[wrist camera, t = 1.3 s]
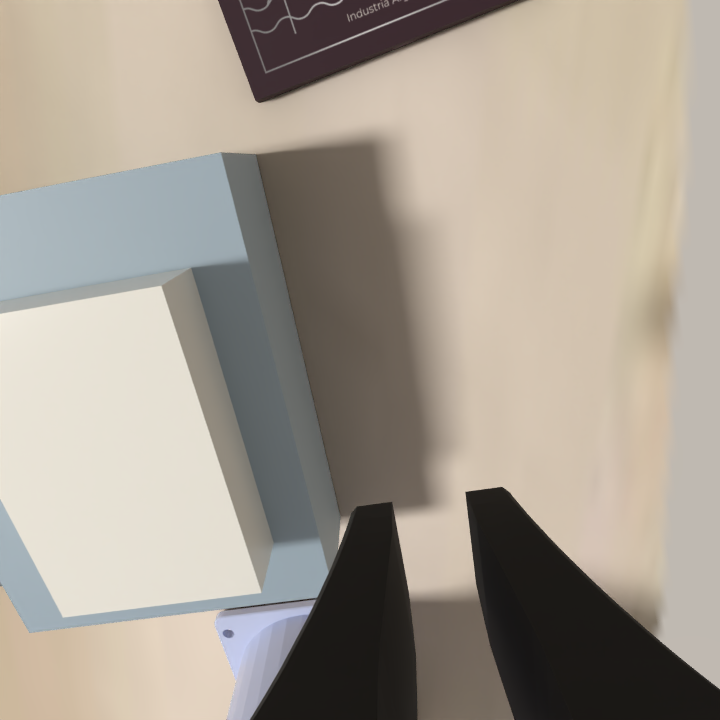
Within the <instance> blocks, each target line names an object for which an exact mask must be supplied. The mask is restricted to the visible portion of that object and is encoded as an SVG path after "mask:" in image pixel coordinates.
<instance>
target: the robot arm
mask: <svg viewBox="0 0 720 720" xmlns="http://www.w3.org/2000/svg"><path fill="white" fill-rule="evenodd" d="M466 501H467V509H468V518H469V526H470V535H471V543H472V552H473V560H474V569H475V577H476V585H477V589H478V594H479V598H480V603H481V607H482V612H483V616H484V620H485V625H486V629H487V633H488V638H489V642H490V646H491V649H492V652H493V655H494V658H495V662H496V665H497V668H498V671H499V674H500V677H501V680H502V683H503V686H504V689H505V692H506V695H507V698H508V701H509V704H510V707H511V710H512V713H513V716H514V719H515V720H720V689H719V688H717V687H716V686H715V685H713V684H712V683H711V682H709V681H708V680H707V679H706V678H704V677H703V676H702V675H701V674H699V673H698V672H697V671H696V670H694V669H693V668H692V667H690V666H689V665H688V664H687V663H686V662H684V661H683V660H682V659H681V658H679V657H678V656H677V655H676V654H675V653H673V652H672V651H671V650H670V649H669V648H667V647H666V646H665V645H664V644H662V642H660V641H659V640H658V639H657V638H656V637H654V636H653V635H652V634H651V633H650V632H649V631H647V630H646V629H645V628H644V627H643V626H642V625H641V624H640V623H638V622H637V621H636V620H635V619H634V618H633V617H632V616H630V615H629V614H628V613H627V612H626V611H625V610H624V609H623V608H621V607H620V606H619V605H618V604H617V603H616V602H615V601H614V600H613V599H612V598H610V597H609V596H608V595H607V594H606V593H605V592H604V591H603V590H602V589H601V588H600V587H599V586H597V585H596V584H595V583H594V582H593V581H592V580H591V579H590V578H589V577H588V576H587V575H586V574H585V573H584V572H583V571H582V570H581V569H580V568H579V567H578V566H577V565H576V564H575V563H574V562H573V561H572V560H571V559H570V558H569V557H568V556H567V555H566V554H565V553H564V552H563V551H562V550H561V549H560V548H559V547H558V546H557V545H556V544H555V543H554V542H553V541H552V540H551V539H550V538H549V537H548V536H547V535H546V534H545V532H544V531H543V530H542V529H541V528H540V527H539V526H538V525H537V524H536V523H535V522H534V521H533V519H532V518H531V517H530V516H529V515H528V514H527V513H526V512H525V510H524V509H523V508H522V507H521V506H520V505H519V503H518V502H517V501H516V500H515V499H514V497H513V496H512V495H511V494H510V492H508V491H507V490H506V489H504V488H503V487H498V488H491V489H483V490H476V491H469V492H466ZM215 628H216V630H217V633H218V635H219V638H220V641H221V643H222V646H223V648H224V651H225V654H226V656H227V659H228V661H229V664H230V667H231V669H232V672H233V674H234V677H235V680H236V683H235V687H234V691H233V695H232V699H231V703H230V707H229V711H228V715H227V719H226V720H417V683H416V652H415V643H414V634H413V625H412V616H411V608H410V599H409V591H408V586H407V580H406V575H405V570H404V564H403V559H402V553H401V548H400V543H399V537H398V532H397V526H396V521H395V515H394V510H393V505H392V502H388V503H380V504H373V505H366V506H358V507H356V508H355V509H354V511H353V512H352V513H351V516H350V519H349V523H348V526H347V528H346V531H345V534H344V537H343V539H342V542H341V545H340V547H339V550H338V552H337V554H336V557H335V559H334V562H333V564H332V566H331V569H330V571H329V573H328V575H327V578H326V580H325V582H324V584H323V586H322V588H321V590H320V593H319V595H318V597H317V599H316V600H308V601H300V602H292V603H284V604H275V605H267V606H259V607H251V608H243V609H235V610H226V611H222V612H220V613H219V614H218V615H217V617H216V620H215Z"/></svg>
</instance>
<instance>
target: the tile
mask: <svg viewBox="0 0 720 720" xmlns="http://www.w3.org/2000/svg"><path fill="white" fill-rule="evenodd" d="M0 500H1V502H2V503H3V505H4V507H5V509H6V511H7V513H8V515H9V517H10V519H11V520H12V522H13V524H14V526H15V528H16V530H17V532H18V534H19V535H20V537H21V539H22V541H23V543H24V545H25V547H26V549H27V551H28V552H29V554H30V556H31V558H32V560H33V562H34V564H35V566H36V568H37V569H38V571H39V573H40V575H41V577H42V579H43V581H44V583H45V584H46V586H47V588H48V590H49V592H50V594H51V596H52V598H53V600H54V601H55V603H56V605H57V607H58V609H59V611H60V613H61V615H62V616H63V618H64V617H72V616H80V615H88V614H96V613H104V612H112V611H120V610H129V609H137V608H145V607H153V606H161V605H169V604H177V603H185V602H193V601H201V600H209V599H217V598H225V597H233V596H241V595H249V594H257V593H262V589H263V585H264V581H265V577H266V573H267V569H268V565H269V561H270V557H271V553H272V548H273V544H274V542H273V539H272V535H271V532H270V529H269V525H268V522H267V519H266V515H265V512H264V509H263V505H262V502H261V499H260V495H259V492H258V489H257V485H256V482H255V479H254V475H253V472H252V469H251V465H250V462H249V459H248V455H247V452H246V449H245V445H244V442H243V439H242V435H241V432H240V429H239V425H238V422H237V419H236V415H235V412H234V409H233V405H232V402H231V399H230V395H229V392H228V389H227V385H226V382H225V379H224V375H223V372H222V369H221V365H220V362H219V359H218V355H217V352H216V349H215V345H214V342H213V339H212V335H211V332H210V329H209V325H208V322H207V319H206V315H205V312H204V309H203V305H202V302H201V299H200V295H199V292H198V289H197V286H196V282H195V279H194V276H193V272H192V269H191V268H186V269H180V270H174V271H169V272H163V273H158V274H152V275H146V276H141V277H135V278H129V279H124V280H118V281H112V282H107V283H101V284H96V285H90V286H84V287H79V288H73V289H67V290H62V291H56V292H50V293H45V294H39V295H33V296H28V297H22V298H17V299H11V300H5V301H0Z"/></svg>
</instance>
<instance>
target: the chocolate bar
mask: <svg viewBox="0 0 720 720" xmlns="http://www.w3.org/2000/svg"><path fill="white" fill-rule="evenodd" d="M218 1H219V4H220V7H221V9H222V12H223V15H224V17H225V20H226V23H227V25H228V28H229V31H230V33H231V36H232V39H233V42H234V44H235V47H236V50H237V52H238V55H239V58H240V60H241V63H242V66H243V68H244V71H245V74H246V76H247V79H248V82H249V84H250V87H251V90H252V92H253V95H254V98H255V100H256V101H257V102H259V103H260V102H263V101H265V100H268V99H270V98H273V97H276V96H278V95H281V94H283V93H286V92H288V91H291V90H293V89H296V88H298V87H301V86H303V85H306V84H308V83H311V82H313V81H316V80H319V79H321V78H324V77H326V76H329V75H331V74H334V73H336V72H339V71H341V70H344V69H346V68H349V67H351V66H354V65H356V64H359V63H361V62H364V61H367V60H369V59H372V58H374V57H377V56H379V55H382V54H384V53H387V52H389V51H392V50H394V49H397V48H399V47H402V46H404V45H407V44H409V43H412V42H415V41H417V40H420V39H422V38H425V37H427V36H430V35H432V34H435V33H437V32H440V31H442V30H445V29H447V28H450V27H452V26H455V25H457V24H460V23H463V22H465V21H468V20H470V19H473V18H475V17H478V16H480V15H483V14H485V13H488V12H490V11H493V10H495V9H498V8H500V7H503V6H506V5H508V4H511V3H513V2H516V1H518V0H218Z"/></svg>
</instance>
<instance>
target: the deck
mask: <svg viewBox="0 0 720 720" xmlns="http://www.w3.org/2000/svg"><path fill="white" fill-rule="evenodd" d="M186 268H191V269H192V272H193V276H194V279H195V282H196V286H197V289H198V292H199V295H200V299H201V302H202V305H203V309H204V312H205V315H206V319H207V322H208V325H209V329H210V332H211V335H212V339H213V342H214V345H215V349H216V352H217V355H218V359H219V362H220V365H221V369H222V372H223V375H224V379H225V382H226V385H227V389H228V392H229V395H230V399H231V402H232V405H233V409H234V412H235V415H236V419H237V422H238V425H239V429H240V432H241V435H242V439H243V442H244V445H245V449H246V452H247V455H248V459H249V462H250V465H251V469H252V472H253V475H254V479H255V482H256V485H257V489H258V492H259V495H260V499H261V502H262V505H263V509H264V512H265V515H266V519H267V522H268V525H269V529H270V532H271V535H272V539H273V542H274V544H273V548H272V553H271V557H270V561H269V565H268V569H267V573H266V577H265V581H264V585H263V589H262V593H257V594H249V595H241V596H233V597H225V598H217V599H209V600H201V601H193V602H185V603H177V604H169V605H161V606H153V607H145V608H137V609H129V610H120V611H112V612H104V613H96V614H88V615H80V616H72V617H64V618H63V616H62V615H61V613H60V611H59V609H58V607H57V605H56V603H55V601H54V600H53V598H52V596H51V594H50V592H49V590H48V588H47V586H46V584H45V583H44V581H43V579H42V577H41V575H40V573H39V571H38V569H37V568H36V566H35V564H34V562H33V560H32V558H31V556H30V554H29V552H28V551H27V549H26V547H25V545H24V543H23V541H22V539H21V537H20V535H19V534H18V532H17V530H16V528H15V526H14V524H13V522H12V520H11V519H10V517H9V515H8V513H7V511H6V509H5V507H4V505H3V503H2V502H1V500H0V582H1V584H2V586H3V588H4V589H5V591H6V593H7V595H8V596H9V598H10V600H11V602H12V603H13V605H14V607H15V609H16V610H17V612H18V614H19V616H20V617H21V619H22V621H23V622H24V624H25V626H26V628H27V629H28V631H29V633H32V632H40V631H49V630H57V629H65V628H73V627H81V626H89V625H98V624H106V623H114V622H122V621H130V620H138V619H147V618H155V617H163V616H171V615H179V614H187V613H196V612H204V611H212V610H220V609H228V608H236V607H245V606H253V605H261V604H269V603H277V602H285V601H294V600H302V599H310V598H317V597H318V595H319V593H320V590H321V588H322V586H323V584H324V582H325V580H326V578H327V575H328V573H329V571H330V569H331V566H332V564H333V562H334V559H335V557H336V554H337V552H338V543H339V530H340V513H339V509H338V504H337V500H336V496H335V491H334V487H333V483H332V479H331V474H330V470H329V466H328V461H327V457H326V453H325V449H324V444H323V440H322V436H321V431H320V427H319V423H318V419H317V414H316V410H315V406H314V401H313V397H312V393H311V389H310V384H309V380H308V376H307V371H306V367H305V363H304V359H303V354H302V350H301V346H300V341H299V337H298V333H297V329H296V324H295V320H294V316H293V311H292V307H291V303H290V299H289V294H288V290H287V286H286V281H285V277H284V273H283V269H282V264H281V260H280V256H279V251H278V247H277V243H276V239H275V234H274V230H273V226H272V221H271V217H270V213H269V209H268V204H267V200H266V196H265V191H264V187H263V183H262V179H261V174H260V170H259V166H258V161H257V157H256V154H239V153H216V154H211V155H205V156H200V157H195V158H190V159H185V160H180V161H175V162H169V163H164V164H159V165H154V166H149V167H144V168H139V169H133V170H128V171H123V172H118V173H113V174H108V175H103V176H97V177H92V178H87V179H82V180H77V181H72V182H67V183H62V184H56V185H51V186H46V187H41V188H36V189H31V190H26V191H20V192H15V193H10V194H5V195H0V301H5V300H11V299H17V298H22V297H28V296H33V295H39V294H45V293H50V292H56V291H62V290H67V289H73V288H79V287H84V286H90V285H96V284H101V283H107V282H112V281H118V280H124V279H129V278H135V277H141V276H146V275H152V274H158V273H163V272H169V271H174V270H180V269H186Z"/></svg>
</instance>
